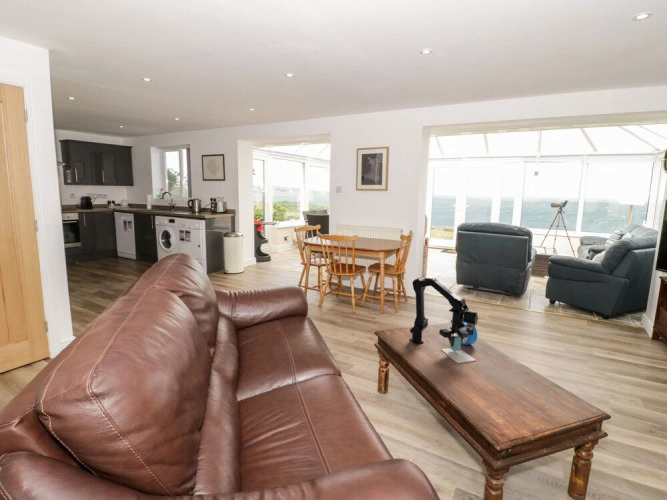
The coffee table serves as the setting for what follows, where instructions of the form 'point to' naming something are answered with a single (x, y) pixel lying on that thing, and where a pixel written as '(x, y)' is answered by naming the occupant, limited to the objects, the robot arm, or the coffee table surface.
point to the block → (456, 343)
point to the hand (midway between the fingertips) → (455, 346)
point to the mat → (458, 355)
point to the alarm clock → (470, 338)
